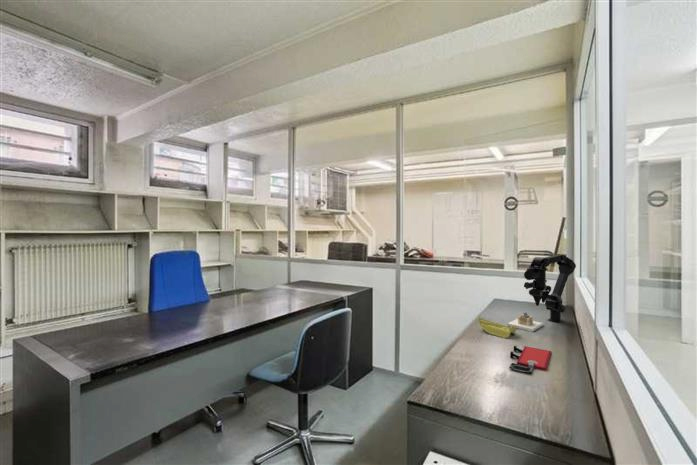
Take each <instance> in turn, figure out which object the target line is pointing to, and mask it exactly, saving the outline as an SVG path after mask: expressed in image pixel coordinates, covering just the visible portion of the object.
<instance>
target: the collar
mask: <svg viewBox="0 0 697 465" xmlns="http://www.w3.org/2000/svg"><path fill="white" fill-rule="evenodd" d="M517 318H518V323H519V324H524V325H528V326H529V325H530V324H532V323H533V321H534V318H533V316H532V315H527V318H525V317H523V314H521V315H518V316H517Z"/></svg>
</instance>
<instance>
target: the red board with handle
mask: <svg viewBox="0 0 697 465" xmlns="http://www.w3.org/2000/svg"><path fill="white" fill-rule="evenodd" d="M516 352H519V353H520V355H518V354H515V353H516ZM509 354H510V355H509V357H510V359H513V358H516V359H517V361H516V363H513V362H511V364H510V366H509V368H508V369H511V370H514V371H519V372H524V373H529V374H532V372H533V370H534V369H536V370H541V371H547V368H548V366H549V365H548V364H549V361H550V357H551V354H552V350H547V349H541V348H537V347H536V348H535V347H531V346H526V345H525V346H524V347H523V349H520V348H518V347H517V345H513V351H510V352H509Z"/></svg>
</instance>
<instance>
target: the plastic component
mask: <svg viewBox="0 0 697 465" xmlns="http://www.w3.org/2000/svg"><path fill="white" fill-rule="evenodd" d="M476 319H477V321H478V324H479V326H480V327H481V328H482V330H483V331H485V332H486V333H488V334H490V335H493V336H496V337H499V338H503V339H508V338H509V337H510V336H511V334H512V335H515V334H516V331H517V328H514V327H512V326H511V327H510V326H508V325H503V324H500V323H496V322H493V321H490V320H486V319H485V318H481V317H479V316H477V318H476Z"/></svg>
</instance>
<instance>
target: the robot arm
mask: <svg viewBox="0 0 697 465" xmlns="http://www.w3.org/2000/svg"><path fill="white" fill-rule="evenodd" d="M554 263H556V264H557V265H558V272H559V273H558V275H557V280H556V282H555V285H554V287H553V290H552V286H550V285H546V284H547V282H548V280H547V278H546V274H547V272H548V271H549V269H548V268H547V267H549V266H550V265H551V264H554ZM576 266H577V265H576V263H575V262H574V261H573V260H572V259H571V258H569V257H567V256H566V254H563V253H561V254H560V253H556V254H553V255H550V256H549V255H548V256H544V257H541V256H534V257H533V259H532V261H531V263H530V264H529V267H528V268H526V270H525V271H524V273H523V277H524V279H526V280H527V282H526V281H525V282H524V284H523V287H524V288H525V290H528V289H529V290H528V294H529V295H530V296H531V297H533V299H534V304H535V305H536V306H539V305H540V302H541V303H543V304H545V305H544V306H545V308H546V310H548V311H549V318H548V319H547V321H549V322H550V321H551V322H554V323H555V322H556V323H561V322H563V321H564V319H562V313H564V312H566V308H565V306H564V305H563V298H562V296H563V292H564V289H565V287H566V285H567V282H568V278H569V276H570V275H572V274H573V273H574V271H575V269H576V268H577V267H576ZM546 271H547V272H546ZM531 280H532V281H531ZM528 281H531V282H528ZM551 291H552V292H551ZM550 293H551V294H550Z"/></svg>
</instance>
